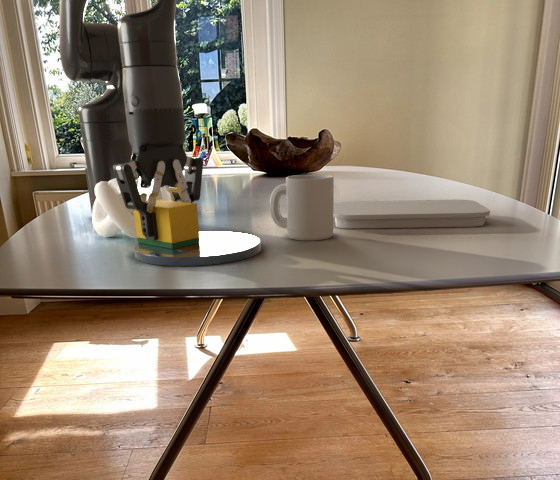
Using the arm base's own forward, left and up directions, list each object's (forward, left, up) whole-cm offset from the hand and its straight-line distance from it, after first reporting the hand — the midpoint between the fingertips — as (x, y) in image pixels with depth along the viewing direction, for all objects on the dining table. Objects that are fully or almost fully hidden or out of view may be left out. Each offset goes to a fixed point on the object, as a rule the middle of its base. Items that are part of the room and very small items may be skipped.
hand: (167, 235), depth 85 cm
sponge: (0, 0, -1) cm, 1 cm away
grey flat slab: (+14, +41, -2) cm, 43 cm away
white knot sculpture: (-15, +3, -2) cm, 16 cm away
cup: (+9, +19, -2) cm, 21 cm away
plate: (+4, +2, -2) cm, 5 cm away
